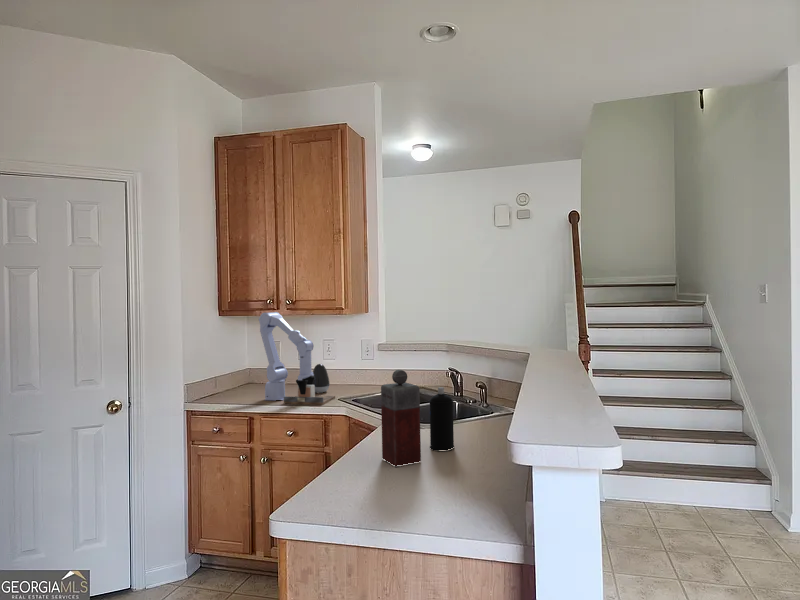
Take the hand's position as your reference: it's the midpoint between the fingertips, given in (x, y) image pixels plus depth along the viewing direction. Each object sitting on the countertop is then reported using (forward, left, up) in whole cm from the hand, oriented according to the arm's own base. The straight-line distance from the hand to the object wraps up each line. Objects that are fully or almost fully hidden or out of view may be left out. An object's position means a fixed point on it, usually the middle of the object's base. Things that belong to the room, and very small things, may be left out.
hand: (306, 392), depth 259 cm
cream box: (0, 0, -3) cm, 3 cm away
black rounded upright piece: (-3, +26, -5) cm, 27 cm away
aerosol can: (+77, -68, -5) cm, 103 cm away
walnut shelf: (+1, +2, -4) cm, 5 cm away
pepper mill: (+66, -83, -5) cm, 106 cm away
